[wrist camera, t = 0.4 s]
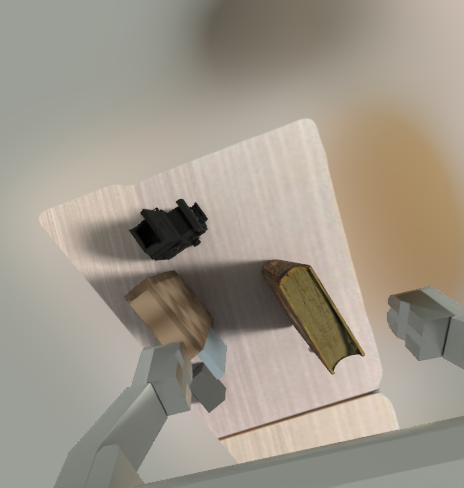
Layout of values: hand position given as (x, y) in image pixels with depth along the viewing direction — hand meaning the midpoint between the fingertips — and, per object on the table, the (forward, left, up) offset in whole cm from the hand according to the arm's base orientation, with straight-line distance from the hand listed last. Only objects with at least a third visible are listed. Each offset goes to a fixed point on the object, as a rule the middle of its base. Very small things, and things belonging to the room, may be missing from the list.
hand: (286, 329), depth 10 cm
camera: (+16, +6, -52) cm, 55 cm away
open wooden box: (+2, +16, -52) cm, 54 cm away
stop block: (-16, +24, -52) cm, 60 cm away
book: (-11, -4, -52) cm, 53 cm away
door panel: (-6, +16, -52) cm, 55 cm away
